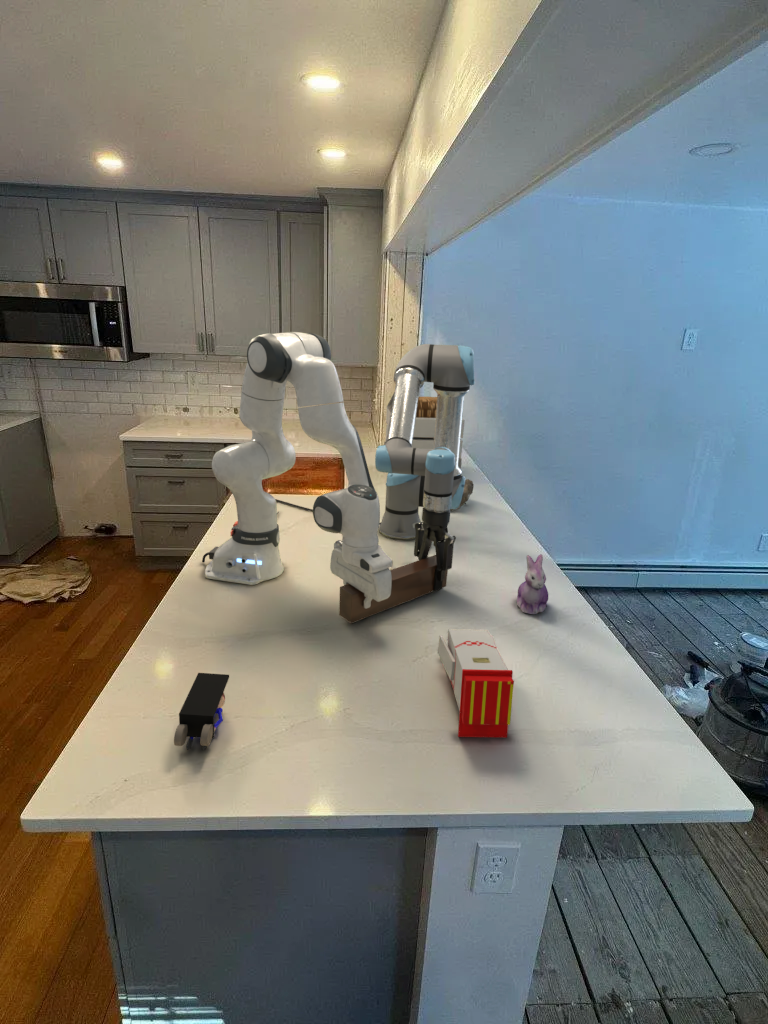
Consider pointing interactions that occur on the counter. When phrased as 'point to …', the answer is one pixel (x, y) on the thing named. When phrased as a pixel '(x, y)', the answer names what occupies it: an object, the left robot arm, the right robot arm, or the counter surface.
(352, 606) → the plank
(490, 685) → the toy
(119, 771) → the counter surface
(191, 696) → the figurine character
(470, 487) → the fossil
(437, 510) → the right robot arm
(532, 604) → the figurine
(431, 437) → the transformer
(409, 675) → the counter surface
